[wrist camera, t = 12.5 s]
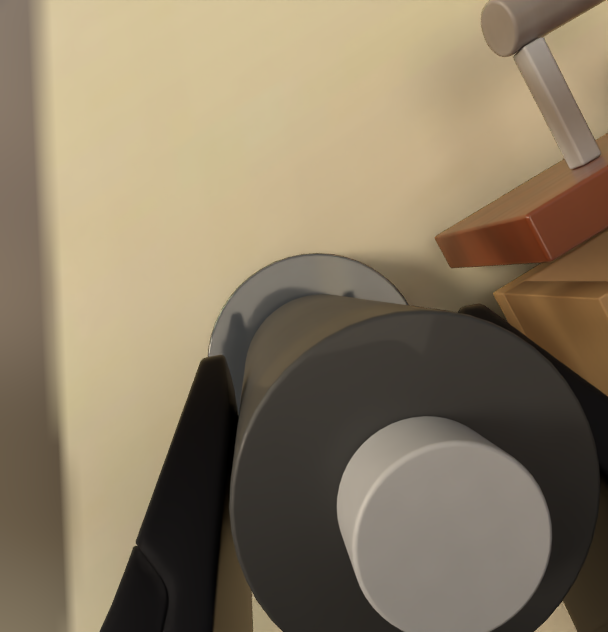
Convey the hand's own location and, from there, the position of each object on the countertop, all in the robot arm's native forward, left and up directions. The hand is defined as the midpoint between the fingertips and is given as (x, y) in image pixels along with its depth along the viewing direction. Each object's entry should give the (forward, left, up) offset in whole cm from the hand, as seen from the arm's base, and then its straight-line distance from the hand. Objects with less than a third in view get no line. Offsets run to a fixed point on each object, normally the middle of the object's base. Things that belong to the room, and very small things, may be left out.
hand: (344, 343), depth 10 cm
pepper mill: (0, -1, -5) cm, 5 cm away
